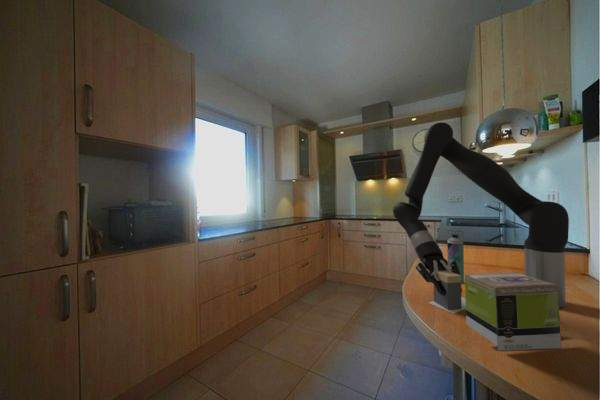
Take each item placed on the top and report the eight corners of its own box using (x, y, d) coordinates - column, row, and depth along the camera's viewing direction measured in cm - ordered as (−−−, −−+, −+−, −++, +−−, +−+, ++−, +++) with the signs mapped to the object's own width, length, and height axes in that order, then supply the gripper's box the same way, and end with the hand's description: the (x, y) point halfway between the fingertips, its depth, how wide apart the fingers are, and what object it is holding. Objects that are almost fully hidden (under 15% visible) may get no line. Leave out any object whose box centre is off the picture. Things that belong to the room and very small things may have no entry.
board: (453, 297, 81) (453, 294, 81) (480, 306, 74) (480, 303, 74) (428, 306, 74) (428, 302, 74) (454, 317, 67) (454, 313, 67)
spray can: (454, 280, 98) (453, 232, 99) (467, 284, 93) (466, 234, 93) (444, 281, 97) (444, 233, 97) (457, 286, 92) (456, 235, 92)
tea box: (519, 326, 62) (518, 271, 62) (562, 350, 52) (561, 284, 52) (464, 328, 62) (463, 272, 62) (497, 352, 52) (496, 286, 52)
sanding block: (446, 300, 76) (446, 269, 76) (461, 308, 70) (461, 275, 70) (433, 301, 75) (433, 270, 75) (447, 309, 69) (447, 276, 69)
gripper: (411, 240, 79) (436, 289, 67) (449, 239, 81) (480, 287, 69) (402, 252, 84) (424, 300, 72) (438, 251, 86) (466, 297, 74)
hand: (451, 293), depth 71 cm, fingers closed on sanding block, 4 cm apart
